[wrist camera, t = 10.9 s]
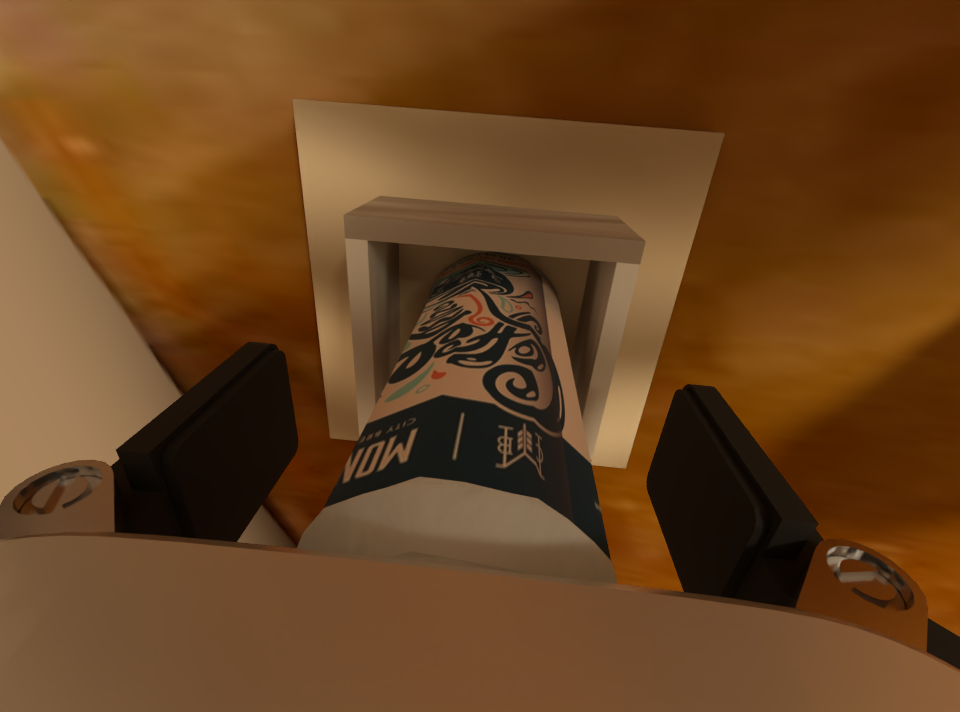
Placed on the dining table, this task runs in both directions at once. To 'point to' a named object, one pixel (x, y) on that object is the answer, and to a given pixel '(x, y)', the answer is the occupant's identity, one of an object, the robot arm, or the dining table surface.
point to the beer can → (476, 439)
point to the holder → (498, 240)
